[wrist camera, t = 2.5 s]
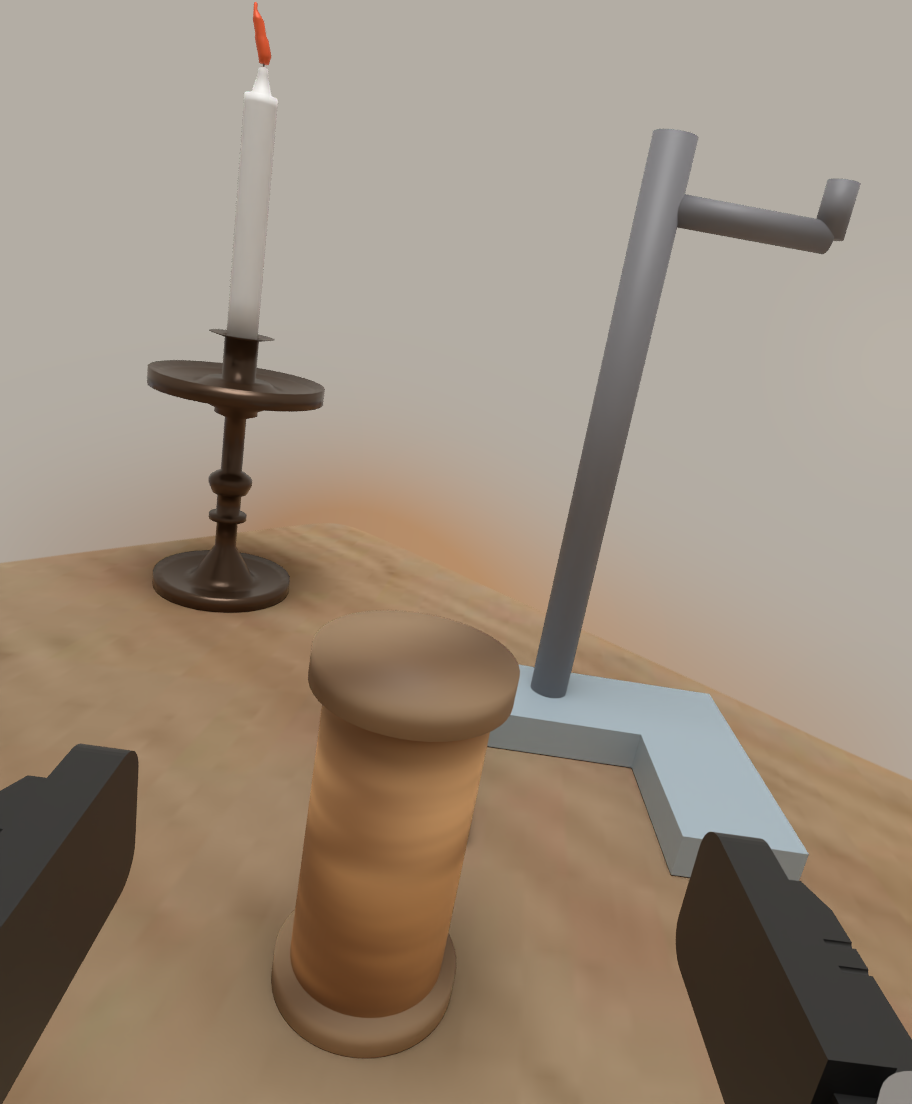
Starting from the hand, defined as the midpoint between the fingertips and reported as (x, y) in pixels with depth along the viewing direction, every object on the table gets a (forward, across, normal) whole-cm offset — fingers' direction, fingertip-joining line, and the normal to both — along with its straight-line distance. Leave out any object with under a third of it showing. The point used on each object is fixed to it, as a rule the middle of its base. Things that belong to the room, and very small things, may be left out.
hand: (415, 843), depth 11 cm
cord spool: (+12, 0, +14) cm, 18 cm away
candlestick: (+42, +14, +14) cm, 47 cm away
